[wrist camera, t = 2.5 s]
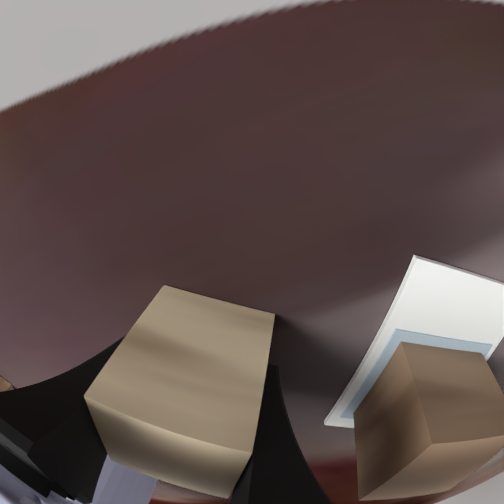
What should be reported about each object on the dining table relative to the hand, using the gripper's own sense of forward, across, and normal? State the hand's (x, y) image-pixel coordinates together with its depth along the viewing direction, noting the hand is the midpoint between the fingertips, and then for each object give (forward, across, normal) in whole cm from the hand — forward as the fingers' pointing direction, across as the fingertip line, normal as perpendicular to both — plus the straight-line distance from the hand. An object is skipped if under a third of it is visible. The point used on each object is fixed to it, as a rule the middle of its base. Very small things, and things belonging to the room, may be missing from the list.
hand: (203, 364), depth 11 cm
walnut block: (+1, -10, 0) cm, 10 cm away
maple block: (+1, 0, 0) cm, 1 cm away
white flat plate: (+1, -10, -1) cm, 10 cm away
